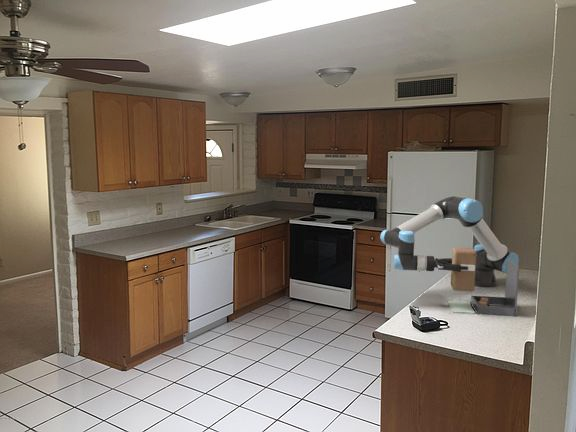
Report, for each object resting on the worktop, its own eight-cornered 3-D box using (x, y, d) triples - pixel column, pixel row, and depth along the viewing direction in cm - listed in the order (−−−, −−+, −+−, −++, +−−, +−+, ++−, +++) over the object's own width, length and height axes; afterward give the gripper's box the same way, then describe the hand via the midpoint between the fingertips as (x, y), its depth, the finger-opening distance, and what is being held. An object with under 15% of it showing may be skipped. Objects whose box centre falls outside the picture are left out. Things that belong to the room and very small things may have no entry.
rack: (470, 303, 256) (473, 257, 252) (506, 304, 254) (509, 258, 250) (478, 314, 239) (481, 265, 236) (515, 316, 237) (519, 267, 233)
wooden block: (474, 292, 241) (476, 251, 238) (452, 290, 243) (455, 250, 240) (471, 286, 251) (473, 247, 248) (450, 285, 253) (452, 246, 250)
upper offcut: (481, 301, 252) (481, 297, 252) (488, 302, 251) (488, 298, 251) (478, 307, 243) (478, 303, 242) (485, 309, 241) (485, 304, 241)
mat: (447, 302, 257) (447, 301, 257) (468, 303, 256) (468, 302, 256) (453, 312, 242) (453, 311, 242) (474, 313, 240) (474, 312, 240)
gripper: (422, 265, 260) (467, 267, 257) (428, 276, 238) (476, 279, 234) (423, 251, 259) (468, 252, 255) (428, 261, 236) (477, 263, 233)
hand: (472, 265), depth 245 cm, fingers closed on wooden block, 10 cm apart
